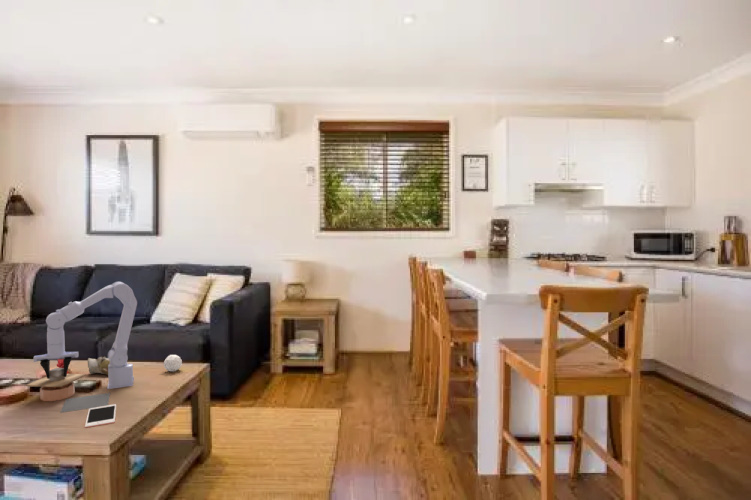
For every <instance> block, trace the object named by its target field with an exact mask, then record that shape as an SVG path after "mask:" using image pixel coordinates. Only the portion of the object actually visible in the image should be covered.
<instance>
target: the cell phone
mask: <svg viewBox="0 0 751 500" xmlns="http://www.w3.org/2000/svg"><path fill="white" fill-rule="evenodd" d="M87 411H88V412H87V416H86V421H85V423H84V424H85V425H84V428H85V429H87V428H86V427H88V428H92V427H93V426H94V427H100V426H105V424H106V425H110V424H111V423H112V424H115V423H116V412H117V404H116V403H115V404H108V405H106V406H101V407H95V408H89V409H88V410H87ZM112 424H111V425H112ZM99 425H100V426H99Z"/></svg>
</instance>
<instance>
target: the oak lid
mask: <svg viewBox="0 0 751 500" xmlns="http://www.w3.org/2000/svg"><path fill="white" fill-rule="evenodd" d="M86 376H87V374H86V373H68V374H67V376H66V377H64V368H59V367H55V368H53V369H50V371H49V379H47V376H46V375H45V376H44V377H42V378H39V379H37V380H34V381H33V382H30V383H27V384H26V385H25V386H26V387H37V388H38V387H40V388H41V387H63V386H65V385H67V384H69V383H71V382H76V381H78V380H79V379H81V378H83V377H86Z"/></svg>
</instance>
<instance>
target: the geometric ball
mask: <svg viewBox="0 0 751 500" xmlns="http://www.w3.org/2000/svg"><path fill="white" fill-rule="evenodd" d="M182 363H183V361H182V359H181V356H179V355H177V354H169V355H168V356H167V357H166V358H165V360H164V361H163V367H164V368H165V370H167V372H177V371H178V370H179V369H180V368H181V366H182V365H183V364H182Z"/></svg>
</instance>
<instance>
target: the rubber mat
mask: <svg viewBox="0 0 751 500" xmlns="http://www.w3.org/2000/svg"><path fill="white" fill-rule="evenodd" d="M110 396H111V392H107V393H101V394H91V395H84V396H75V397H68V398H65V401H64V403H63V405H62V408H61V410H60V414H61V413H67V412H74V411H75V412H76V411H81V410H89V408H95V407H101V406H106V405H109V402H110V398H111V397H110Z"/></svg>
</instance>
